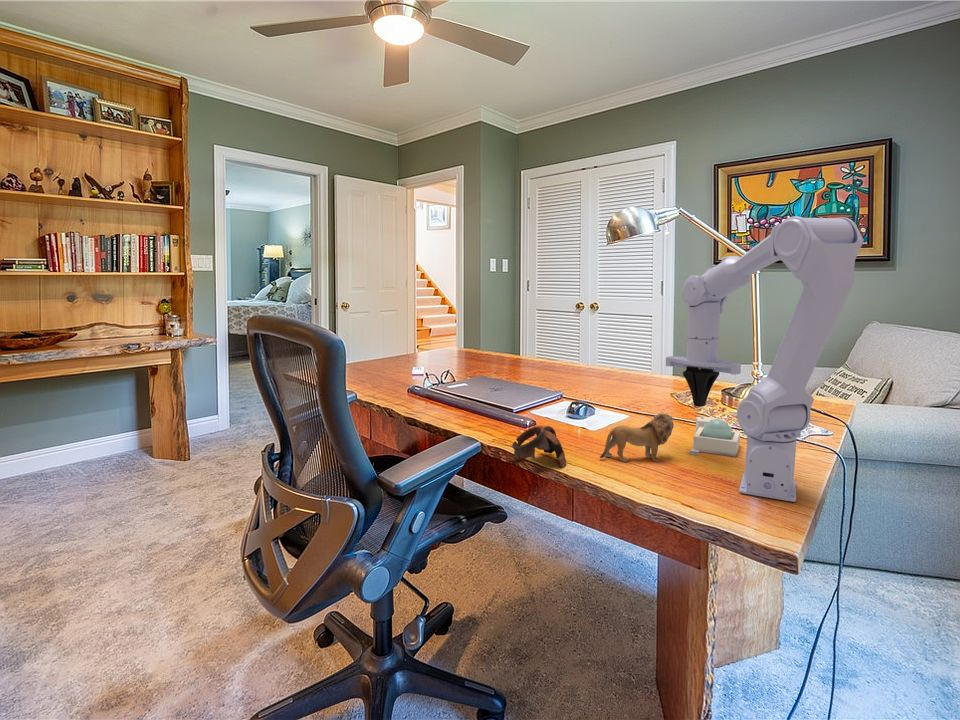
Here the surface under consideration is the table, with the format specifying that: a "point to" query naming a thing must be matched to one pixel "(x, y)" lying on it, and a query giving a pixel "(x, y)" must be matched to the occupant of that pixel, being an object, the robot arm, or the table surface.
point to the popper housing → (716, 443)
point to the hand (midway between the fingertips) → (699, 405)
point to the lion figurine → (641, 436)
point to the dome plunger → (717, 429)
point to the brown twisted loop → (539, 444)
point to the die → (702, 421)
